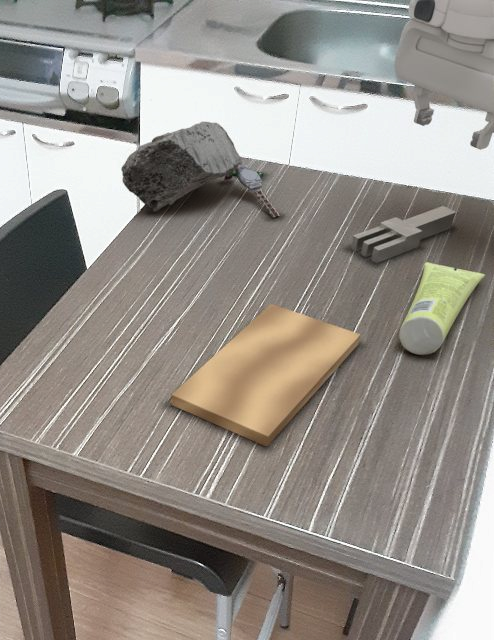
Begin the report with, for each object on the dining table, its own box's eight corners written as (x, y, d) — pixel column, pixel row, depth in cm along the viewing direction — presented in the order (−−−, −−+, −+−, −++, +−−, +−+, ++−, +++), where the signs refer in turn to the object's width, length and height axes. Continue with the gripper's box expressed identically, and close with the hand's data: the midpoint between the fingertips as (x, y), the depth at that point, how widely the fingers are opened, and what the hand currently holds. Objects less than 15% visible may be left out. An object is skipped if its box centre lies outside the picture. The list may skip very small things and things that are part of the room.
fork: (431, 218, 112) (436, 202, 110) (458, 231, 108) (463, 215, 107) (350, 248, 106) (353, 232, 104) (375, 263, 103) (379, 246, 101)
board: (358, 344, 90) (360, 334, 89) (266, 447, 78) (268, 436, 77) (269, 313, 95) (271, 303, 94) (171, 405, 83) (171, 394, 82)
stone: (110, 122, 107) (203, 155, 102) (170, 99, 118) (256, 128, 114) (101, 205, 115) (186, 239, 110) (158, 176, 126) (237, 205, 122)
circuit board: (263, 170, 123) (259, 175, 122) (262, 174, 124) (259, 179, 123) (227, 164, 125) (223, 169, 124) (227, 168, 126) (222, 173, 125)
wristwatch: (234, 175, 123) (241, 149, 119) (278, 236, 117) (287, 210, 113) (214, 180, 122) (221, 153, 118) (258, 241, 116) (267, 215, 112)
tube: (418, 367, 89) (450, 294, 101) (457, 346, 85) (485, 273, 97) (389, 331, 88) (425, 262, 100) (426, 308, 84) (459, 239, 96)
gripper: (579, 28, 83) (533, 156, 93) (436, -10, 95) (408, 106, 105) (541, 38, 80) (498, 168, 90) (399, -2, 93) (375, 116, 103)
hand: (449, 135), depth 98 cm, fingers open, 8 cm apart
